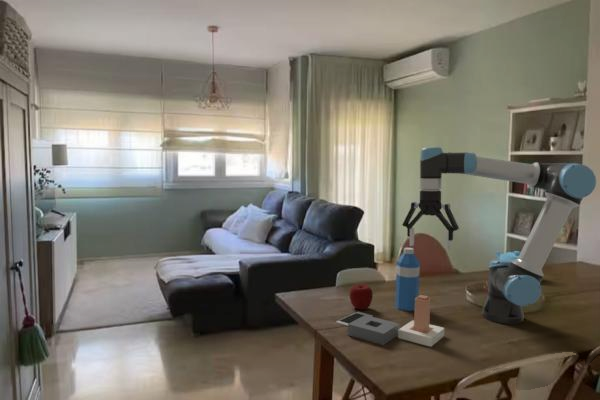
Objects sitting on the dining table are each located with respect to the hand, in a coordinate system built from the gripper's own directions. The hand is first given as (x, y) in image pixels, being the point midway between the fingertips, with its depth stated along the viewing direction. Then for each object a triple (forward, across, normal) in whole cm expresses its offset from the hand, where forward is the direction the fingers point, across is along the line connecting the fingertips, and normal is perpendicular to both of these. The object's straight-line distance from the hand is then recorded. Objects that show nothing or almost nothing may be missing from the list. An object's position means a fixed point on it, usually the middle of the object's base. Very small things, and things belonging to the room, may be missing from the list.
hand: (429, 247), depth 173 cm
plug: (+30, -2, +12) cm, 32 cm away
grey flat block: (+29, +13, +20) cm, 38 cm away
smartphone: (+30, +25, +11) cm, 41 cm away
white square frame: (+30, -2, +12) cm, 32 cm away
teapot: (+32, -11, -99) cm, 104 cm away
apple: (+29, +30, -3) cm, 42 cm away
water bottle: (+30, +15, -16) cm, 37 cm away
